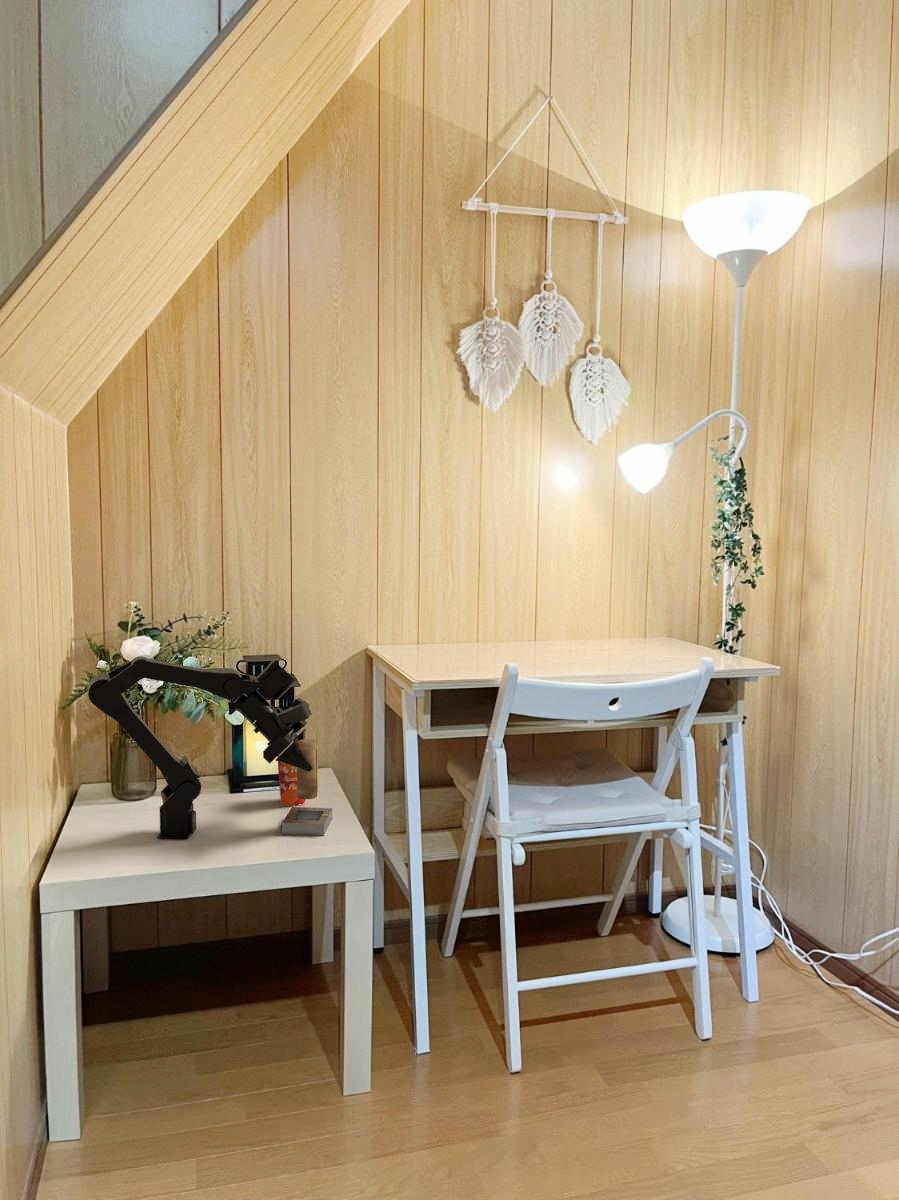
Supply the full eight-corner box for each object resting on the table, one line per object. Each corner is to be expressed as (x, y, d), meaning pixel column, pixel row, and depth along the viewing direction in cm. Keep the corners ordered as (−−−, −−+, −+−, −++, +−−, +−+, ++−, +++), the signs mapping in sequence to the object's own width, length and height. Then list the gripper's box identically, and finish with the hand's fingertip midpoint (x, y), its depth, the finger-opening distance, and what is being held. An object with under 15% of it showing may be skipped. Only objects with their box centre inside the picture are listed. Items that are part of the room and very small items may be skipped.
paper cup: (277, 808, 215) (276, 749, 213) (275, 798, 222) (274, 740, 221) (311, 806, 217) (311, 747, 215) (308, 795, 224) (308, 738, 222)
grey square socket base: (282, 834, 199) (281, 821, 199) (292, 818, 209) (292, 806, 209) (324, 835, 199) (324, 823, 198) (332, 819, 208) (332, 807, 208)
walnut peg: (294, 799, 201) (294, 744, 199) (299, 792, 205) (298, 738, 204) (315, 799, 201) (315, 744, 199) (319, 793, 205) (319, 739, 204)
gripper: (278, 699, 191) (332, 753, 192) (297, 680, 210) (346, 730, 210) (240, 736, 192) (294, 789, 193) (262, 714, 211) (311, 763, 212)
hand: (313, 766), depth 202 cm, fingers closed on walnut peg, 4 cm apart
